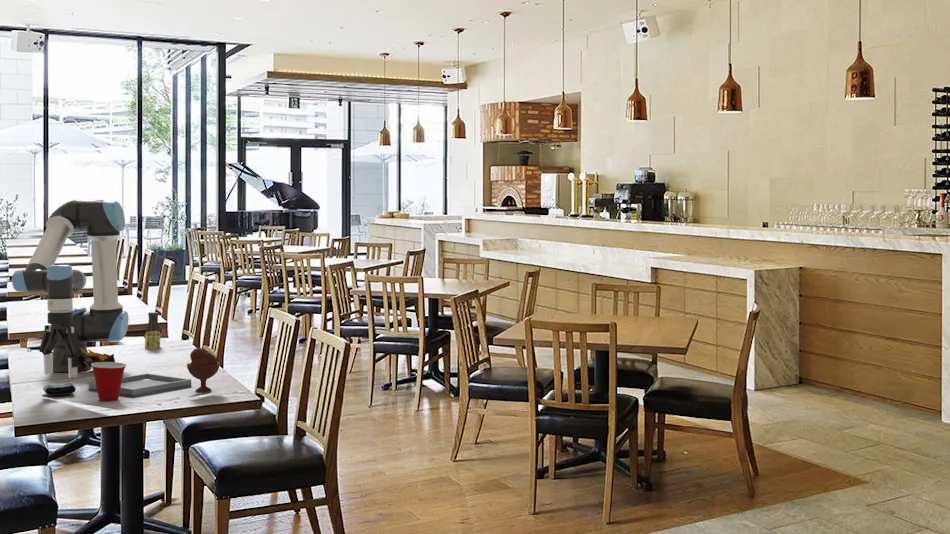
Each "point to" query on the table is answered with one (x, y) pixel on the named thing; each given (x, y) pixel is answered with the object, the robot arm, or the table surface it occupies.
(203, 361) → the ice cream bowl
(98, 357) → the fried shrimp in bowl
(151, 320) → the sauce bottle
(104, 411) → the table surface
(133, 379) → the tray
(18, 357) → the table surface
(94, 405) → the table surface
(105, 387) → the plastic cup
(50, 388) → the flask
